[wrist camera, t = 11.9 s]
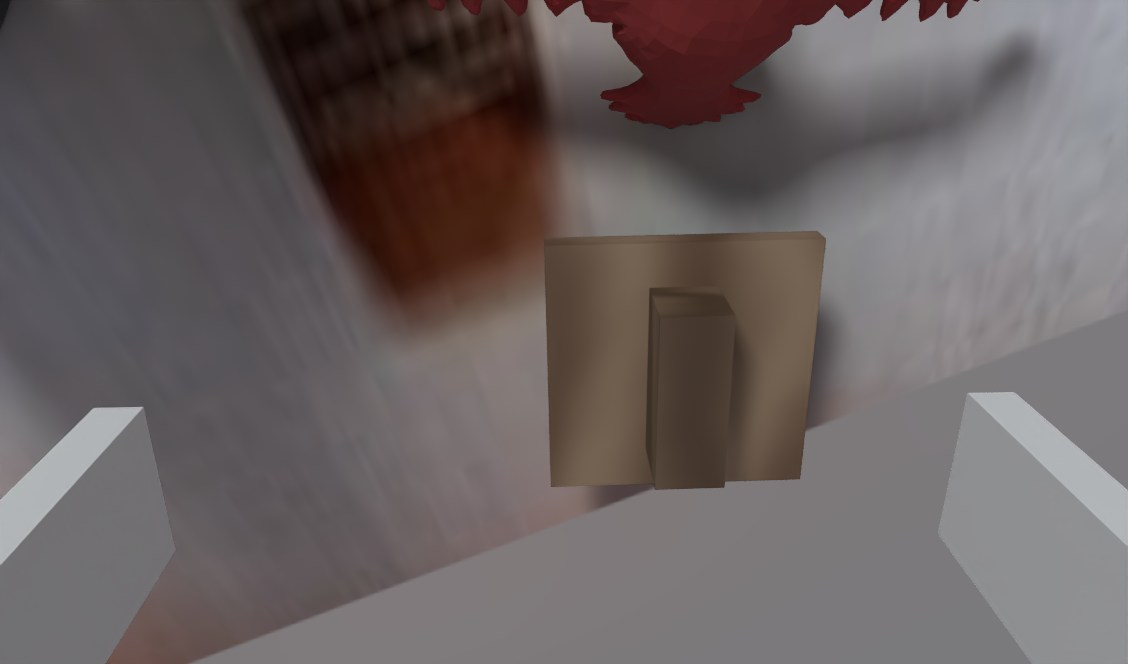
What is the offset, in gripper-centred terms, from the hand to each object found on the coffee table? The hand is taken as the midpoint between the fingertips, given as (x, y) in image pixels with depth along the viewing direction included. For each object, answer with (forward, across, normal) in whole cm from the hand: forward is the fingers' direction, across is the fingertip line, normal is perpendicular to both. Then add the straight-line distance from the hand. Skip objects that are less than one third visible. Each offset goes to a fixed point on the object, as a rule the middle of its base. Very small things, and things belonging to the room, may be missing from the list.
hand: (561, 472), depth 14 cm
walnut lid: (+24, +6, -9) cm, 26 cm away
